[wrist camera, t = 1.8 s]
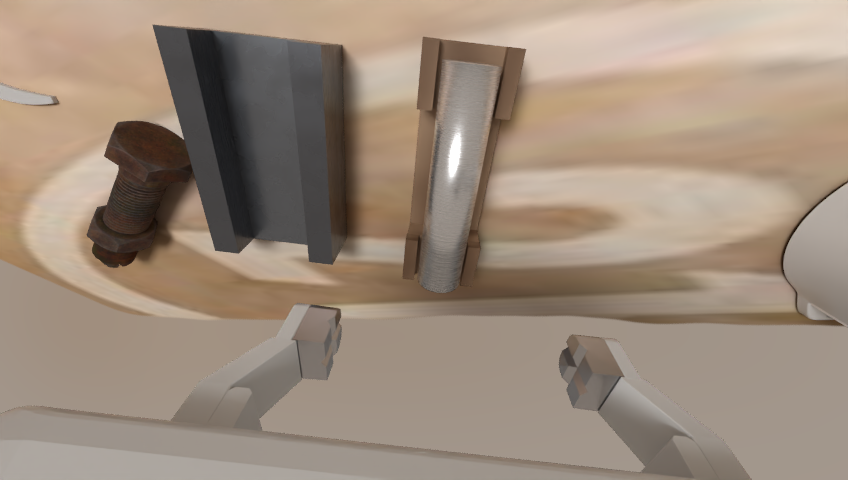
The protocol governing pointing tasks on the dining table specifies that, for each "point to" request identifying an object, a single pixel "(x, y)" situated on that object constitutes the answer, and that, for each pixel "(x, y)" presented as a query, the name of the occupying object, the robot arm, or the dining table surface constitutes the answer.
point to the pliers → (24, 96)
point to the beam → (427, 104)
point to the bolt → (136, 189)
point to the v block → (262, 135)
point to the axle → (455, 168)
